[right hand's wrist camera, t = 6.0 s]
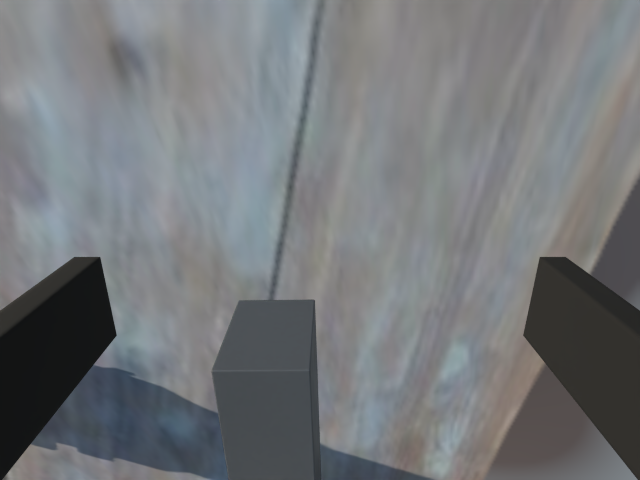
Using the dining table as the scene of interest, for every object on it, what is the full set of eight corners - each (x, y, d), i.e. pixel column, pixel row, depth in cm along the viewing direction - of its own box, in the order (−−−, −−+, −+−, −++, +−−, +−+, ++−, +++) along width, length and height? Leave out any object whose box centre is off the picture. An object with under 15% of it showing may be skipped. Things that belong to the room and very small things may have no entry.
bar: (238, 300, 31) (210, 371, 24) (314, 299, 31) (310, 370, 24) (265, 527, 41) (251, 626, 34) (322, 527, 41) (321, 627, 34)
